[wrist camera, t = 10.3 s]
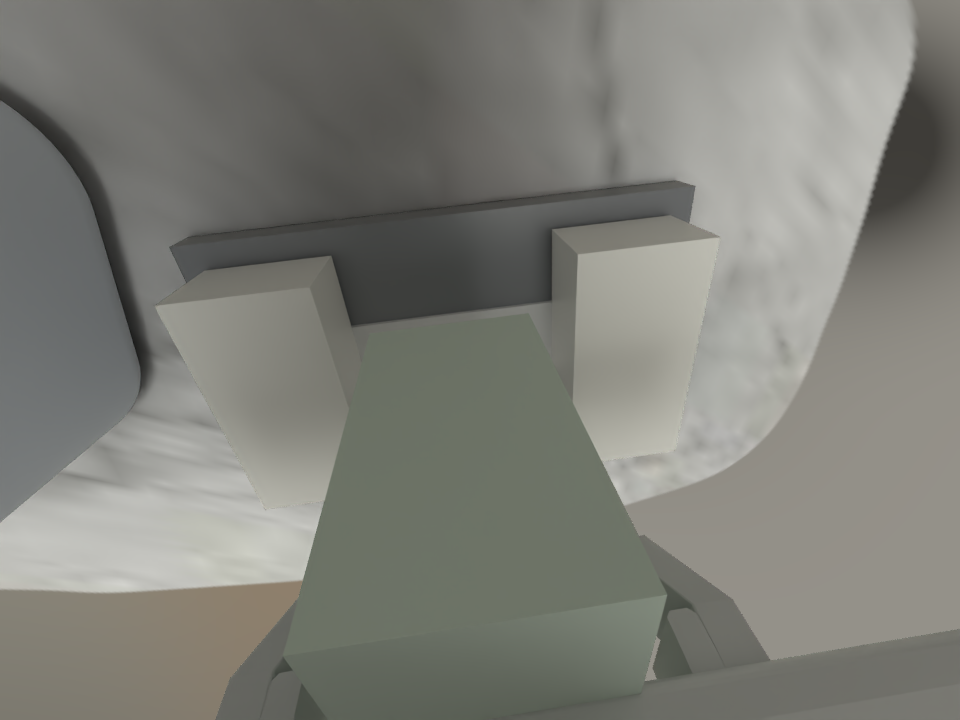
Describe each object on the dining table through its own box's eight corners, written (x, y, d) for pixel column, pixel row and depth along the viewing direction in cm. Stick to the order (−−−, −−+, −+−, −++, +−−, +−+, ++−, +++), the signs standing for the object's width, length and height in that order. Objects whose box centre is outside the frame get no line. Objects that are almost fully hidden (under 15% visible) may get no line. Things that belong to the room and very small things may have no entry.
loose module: (369, 333, 12) (283, 656, 5) (528, 313, 12) (667, 594, 5) (423, 539, 16) (418, 846, 10) (535, 523, 17) (609, 812, 10)
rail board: (188, 237, 17) (105, 280, 13) (676, 180, 18) (756, 203, 14) (284, 448, 24) (251, 527, 19) (644, 399, 24) (692, 463, 20)
